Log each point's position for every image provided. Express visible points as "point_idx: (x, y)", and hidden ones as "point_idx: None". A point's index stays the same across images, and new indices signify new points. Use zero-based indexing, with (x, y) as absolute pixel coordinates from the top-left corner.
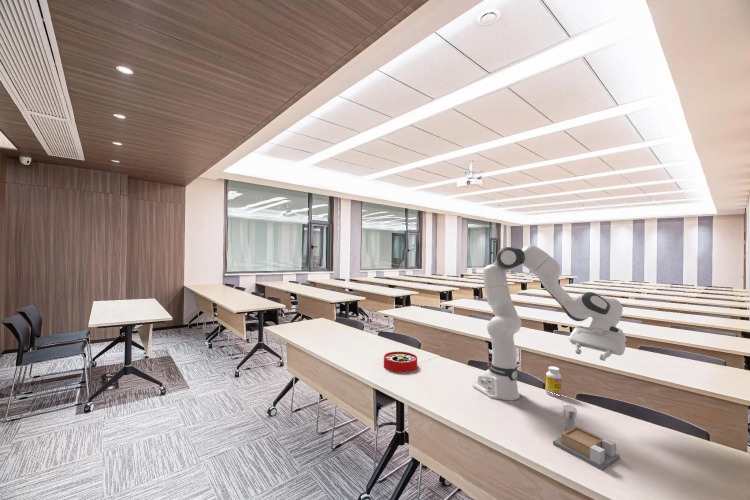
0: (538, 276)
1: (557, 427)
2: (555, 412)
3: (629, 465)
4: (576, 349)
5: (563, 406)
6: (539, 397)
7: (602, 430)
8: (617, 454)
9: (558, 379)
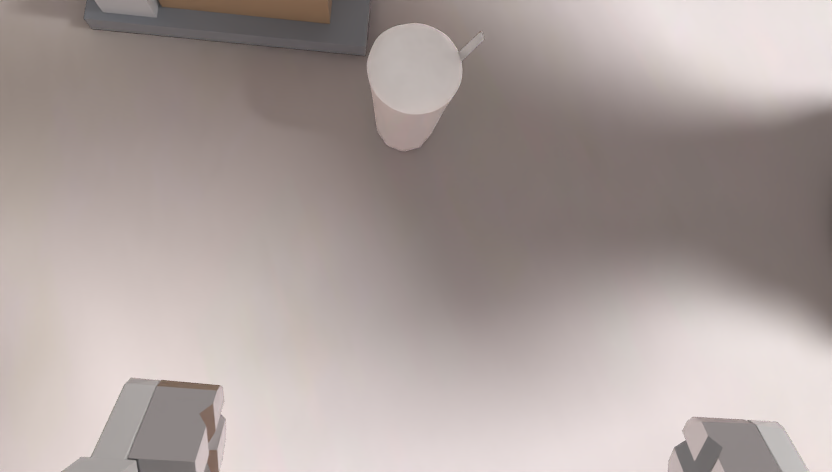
0: None
1: None
2: (572, 279)
3: (39, 5)
4: (797, 463)
5: (459, 52)
6: None
7: (265, 294)
8: (95, 14)
9: None
